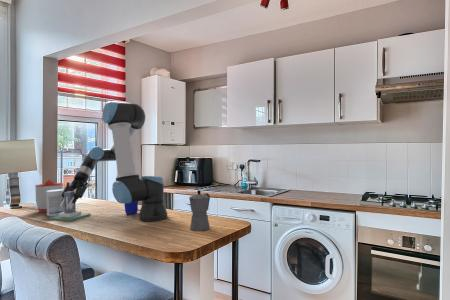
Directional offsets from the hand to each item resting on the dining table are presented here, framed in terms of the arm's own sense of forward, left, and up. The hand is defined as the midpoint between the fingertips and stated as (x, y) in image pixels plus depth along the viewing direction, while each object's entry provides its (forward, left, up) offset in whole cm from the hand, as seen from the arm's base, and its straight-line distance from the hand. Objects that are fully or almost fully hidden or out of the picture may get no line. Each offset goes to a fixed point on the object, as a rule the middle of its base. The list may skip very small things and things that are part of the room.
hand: (65, 207), depth 167 cm
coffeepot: (-81, -1, -7) cm, 82 cm away
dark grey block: (+1, -4, -4) cm, 5 cm away
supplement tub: (+16, -8, -7) cm, 19 cm away
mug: (-29, -22, -7) cm, 37 cm away
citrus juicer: (+31, -17, -7) cm, 35 cm away
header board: (+1, -4, -6) cm, 7 cm away
